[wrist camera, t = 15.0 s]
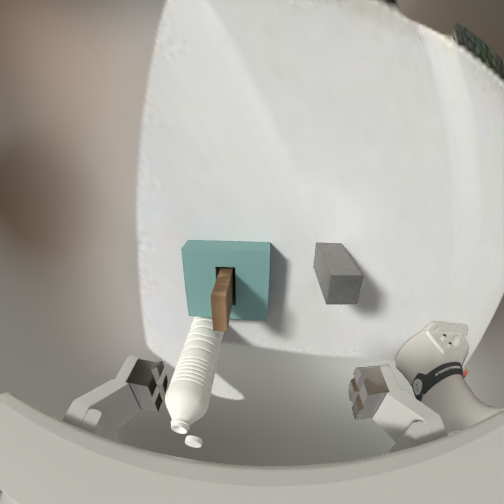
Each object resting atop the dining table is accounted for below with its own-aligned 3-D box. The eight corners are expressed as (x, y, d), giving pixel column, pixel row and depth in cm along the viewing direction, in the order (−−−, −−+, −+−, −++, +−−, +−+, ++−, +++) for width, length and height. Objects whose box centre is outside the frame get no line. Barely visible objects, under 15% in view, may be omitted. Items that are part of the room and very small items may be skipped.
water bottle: (188, 315, 52) (146, 417, 29) (217, 308, 51) (187, 417, 28) (205, 347, 55) (178, 447, 32) (233, 341, 54) (216, 447, 31)
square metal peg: (341, 243, 45) (362, 275, 34) (337, 267, 46) (356, 304, 35) (316, 242, 45) (331, 275, 34) (313, 266, 47) (326, 304, 36)
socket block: (270, 242, 45) (270, 251, 42) (267, 307, 50) (267, 320, 47) (188, 240, 46) (181, 248, 42) (193, 303, 51) (188, 315, 47)
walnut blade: (234, 260, 47) (225, 296, 36) (235, 290, 49) (226, 331, 38) (223, 259, 47) (210, 296, 36) (224, 289, 49) (213, 330, 38)
